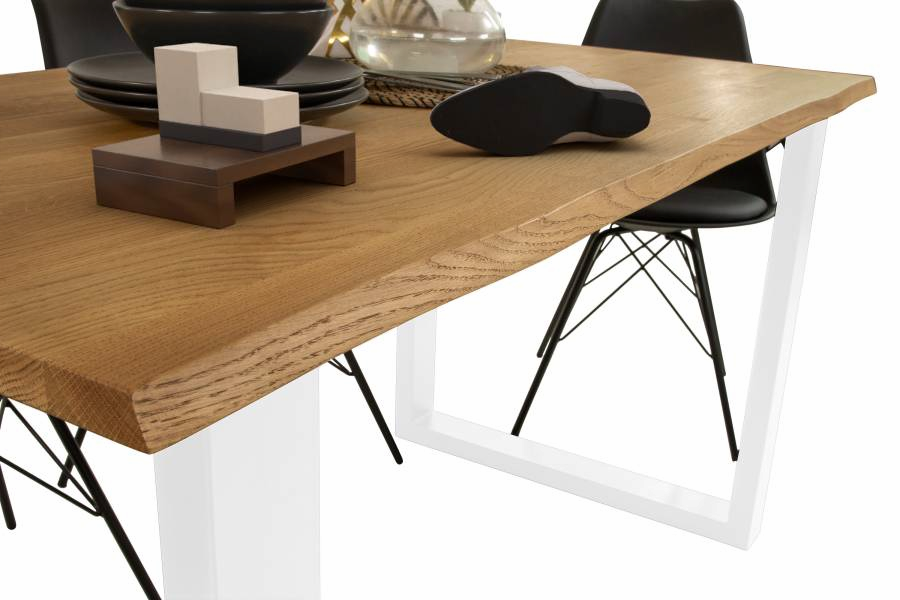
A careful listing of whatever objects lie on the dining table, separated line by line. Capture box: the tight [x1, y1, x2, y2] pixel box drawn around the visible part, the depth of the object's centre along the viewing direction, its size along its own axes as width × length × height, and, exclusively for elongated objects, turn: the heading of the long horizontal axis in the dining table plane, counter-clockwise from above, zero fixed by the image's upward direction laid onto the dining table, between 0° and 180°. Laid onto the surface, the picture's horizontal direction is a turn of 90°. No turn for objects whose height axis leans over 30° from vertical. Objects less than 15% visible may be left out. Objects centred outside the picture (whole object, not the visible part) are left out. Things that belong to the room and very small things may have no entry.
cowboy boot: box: [429, 65, 652, 157], centre depth 123 cm, size 10×28×25 cm
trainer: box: [153, 42, 302, 152], centre depth 91 cm, size 12×6×8 cm, turn 61°
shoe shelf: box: [91, 123, 357, 230], centre depth 93 cm, size 14×20×5 cm
